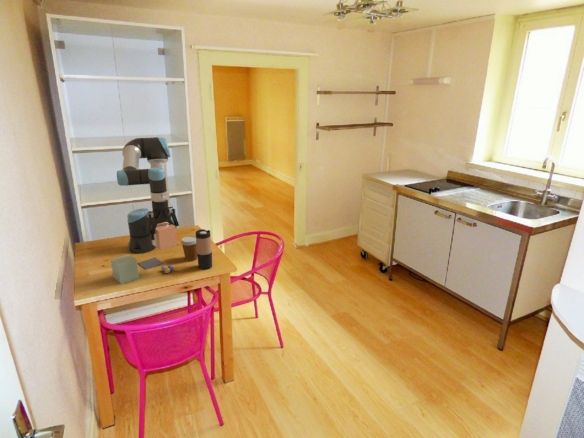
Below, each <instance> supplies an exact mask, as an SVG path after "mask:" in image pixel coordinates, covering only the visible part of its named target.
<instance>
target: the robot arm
mask: <svg viewBox="0 0 584 438" xmlns="http://www.w3.org/2000/svg"><path fill="white" fill-rule="evenodd" d="M167 140H168V139H166V138H165V137H162V136H161V137H159V136H156V137H136V138H134V139H131V140H130V141H128V142H127V143H126V144H125V145H124V147H123V148H122V157H123V161H122V169H120V170H117V171H116V180H117V181H116V182H117V185H119V186H120V187H121V186H127V187H128V186H137V185H140V186H141V185H149V189H150V191H149V192H150V199H151V208H152V210H149V209H148V208H138V209H134V210H132V211H130V212H129V213H128V214H127V223H128V224H127V225H128V230H129V241H128V246H127V249H128V252H129V253H132V254H145V253H149V252H151V251H153V250H155V249H156V248H157V247H155V246H157V239H156V234H155V233H154V232H155V229H156V227H157V224H160V223H164V222H168V223H169V224H171V225H174V226H176V229H177V228H178V227H180V224H179V221H178V218H177V215H176V214H177V210H176V208H174V206H173V205H172V204H171V201H170V190H169V182H168V181H169V180H168V172H167V162H168V161H169V158H171V153H170V149H169V145H168V141H167ZM140 159H146V160H147V163H149V164H150V168H143V169H141V168H139V167H140ZM152 240H153V245H152Z"/></svg>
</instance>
